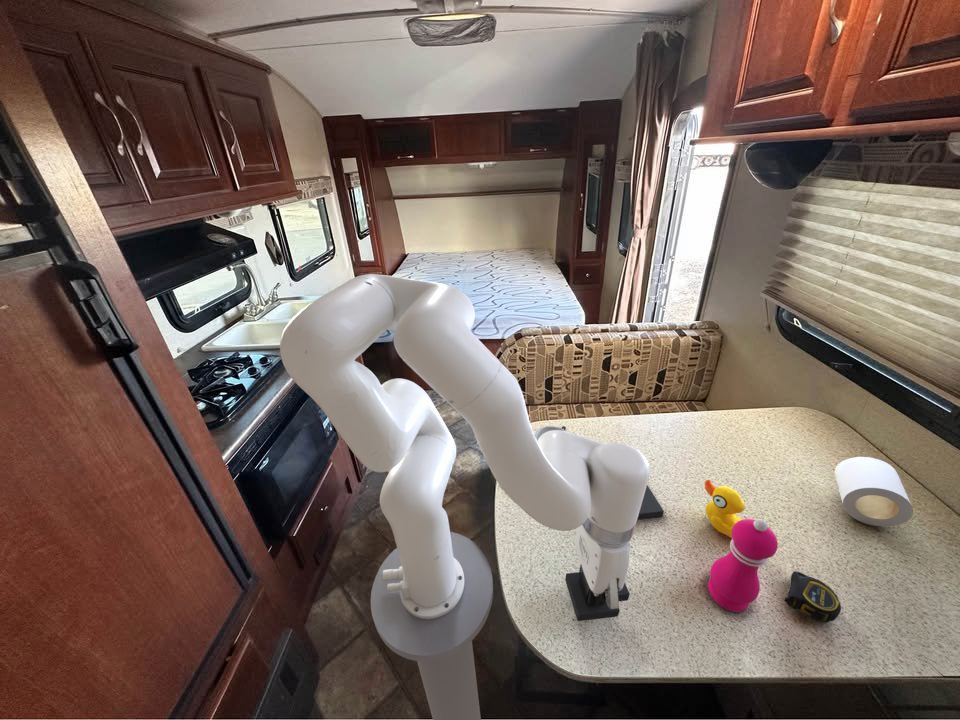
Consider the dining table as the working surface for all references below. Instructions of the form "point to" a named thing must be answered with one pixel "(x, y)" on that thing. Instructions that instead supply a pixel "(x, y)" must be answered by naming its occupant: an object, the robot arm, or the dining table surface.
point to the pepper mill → (742, 565)
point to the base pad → (650, 506)
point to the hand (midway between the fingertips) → (592, 588)
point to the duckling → (723, 507)
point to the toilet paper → (872, 492)
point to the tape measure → (813, 598)
